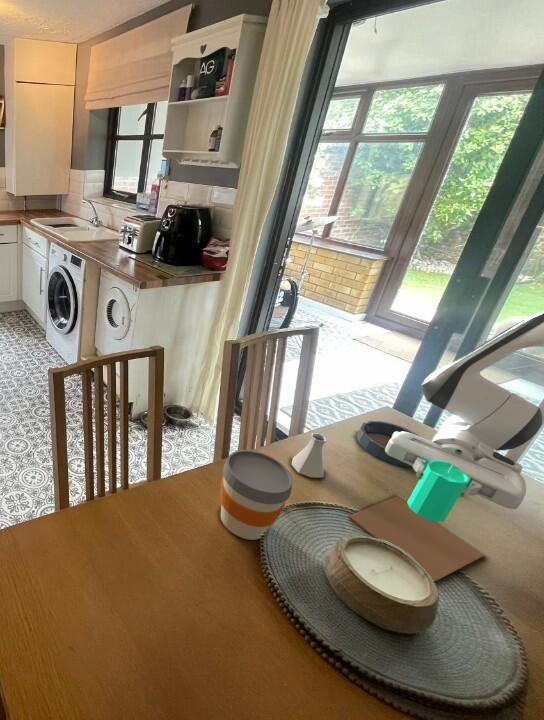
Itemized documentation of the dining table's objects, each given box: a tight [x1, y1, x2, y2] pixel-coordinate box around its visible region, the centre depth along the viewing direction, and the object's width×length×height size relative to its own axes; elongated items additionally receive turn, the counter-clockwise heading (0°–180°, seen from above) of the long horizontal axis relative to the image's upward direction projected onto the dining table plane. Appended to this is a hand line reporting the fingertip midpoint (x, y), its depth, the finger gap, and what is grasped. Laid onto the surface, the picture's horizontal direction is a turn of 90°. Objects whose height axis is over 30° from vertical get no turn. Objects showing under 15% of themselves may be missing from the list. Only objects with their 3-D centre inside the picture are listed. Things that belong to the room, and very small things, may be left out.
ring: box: [356, 420, 421, 468], centre depth 110 cm, size 14×14×4 cm
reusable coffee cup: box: [219, 449, 294, 541], centre depth 86 cm, size 13×13×15 cm
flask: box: [291, 432, 327, 479], centre depth 102 cm, size 7×7×10 cm
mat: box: [348, 496, 485, 583], centre depth 86 cm, size 16×16×1 cm
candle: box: [406, 460, 470, 523], centre depth 81 cm, size 6×6×12 cm
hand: (441, 484), depth 79 cm, fingers closed on candle, 5 cm apart
